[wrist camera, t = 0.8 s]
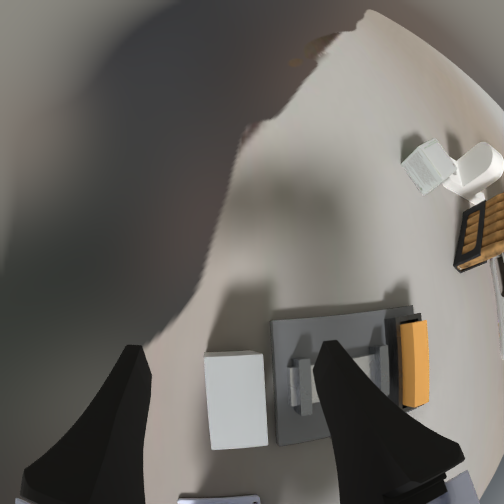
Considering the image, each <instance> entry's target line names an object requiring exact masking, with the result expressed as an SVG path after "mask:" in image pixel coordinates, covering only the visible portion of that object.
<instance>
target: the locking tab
mask: <svg viewBox="0 0 504 504" xmlns="http://www.w3.org/2000/svg"><path fill="white" fill-rule="evenodd" d="M400 331H401V346H402V370H403V405H405V406H409V407H414V408H415V407H418V406H420V405H422V404H425V403H427V402H429V348H428V332H427V320H424V321H417V322H411V323H406V324H401V325H400Z"/></svg>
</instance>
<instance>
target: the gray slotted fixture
mask: <svg viewBox="0 0 504 504" xmlns="http://www.w3.org/2000/svg"><path fill="white" fill-rule="evenodd" d="M402 321H406V322H407V323H411V322H417V321H422V319H421V313H417V314H412V315H406V316H401V317H395V318H389V319H384V325H385V338H386V345H375V346H370V347H368V348H369V354H367V355H362V356H357V357H352V359H353V360H354V361H355V362H356V363H357V365H358V366H359V367H360V368H361V369H362V370H363V372H364V373H365V374H366V375H367V376H368V377H369V378H370V379H371V380H372V382H373V383H374V384H375V385H376V386H377V387H378V388H379V389H380V390H381V391H382V392H383V393H384V394H385V395H386V396H387V397H388V398H389V399H390V400H391V401H393V402H394V403H395V404H396V405H397V406H398V407H400V408H401V409H402V410H403V411H404V412H407V411H410V410H412V409H415V408H417V407H415V408H414V407H409V406H405V405H403V370H402V346H401V331H400V322H402ZM291 359H292V366H291V367H287V386H288V404H289V405H290V406H294V411H295V412H296V413H298V414H299V415H300V416H306V415H311V414H313V412H312V403H316V402H320V401H319V398H318V394H317V391H316V386H315V381H314V375H313V367H314V365H315V363H314V364H310V358H305V357H298V358H291ZM422 405H424V404H422ZM422 405H420V406H422ZM418 407H419V406H418Z"/></svg>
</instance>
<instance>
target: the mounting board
mask: <svg viewBox="0 0 504 504" xmlns="http://www.w3.org/2000/svg"><path fill="white" fill-rule="evenodd" d="M412 314H414V313H413V305H411V306H405V307H398V308H391V309H384V310H376V311H369V312H361V313H352V314H343V315H334V316H323V317H312V318H301V319H287V320H272V321H270V330H271V347H272V363H273V381H274V400H275V419H276V440H277V444H278V445H279V446H285V445H291V444H297V443H302V442H307V441H312V440H317V439H321V438H326V437H330V436H331V435H330V432H329V429H328V425H327V422H326V419H325V416H324V413H323V410H322V407H321V404H320V402H316V403H312V412H313V414H311V415H306V416H300V415H299V414H298V413H296V412H295V411H294V406H290V405H289V404H288V386H287V367H291V366H292V359H291V358H298V357H305V358H310V364H314V363H315V362H316V359H317V357H318V354H319V351H320V348H321V346H322V343H323V341H329V340H338V341H339V343H340V344H341V345H342V346H343V348H344V349H345V350H346V351H347V352H348V354H349V355H350V356H351V357H357V356H362V355H367V354H369V348H368V347H370V346H375V345H386V338H385V325H384V319H389V318H395V317H401V316H406V315H412ZM406 323H407V322H406V321H402V322H400V325H401V324H406ZM415 409H416V408H415ZM412 410H414V409H412ZM412 410H410V411H412ZM407 412H409V411H407ZM407 412H406V413H407Z"/></svg>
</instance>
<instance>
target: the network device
mask: <svg viewBox="0 0 504 504" xmlns="http://www.w3.org/2000/svg"><path fill="white" fill-rule="evenodd" d="M498 257H503V261H504V252H503V253H501V254H500V255H498V256H495V257H493V258H490V267H491V273H492V278H493V284H494V291H495V298H496V306H497V315H498V326H499V343H500V354H501V357H502V359H503V360H504V297H502V296H501V293H500V289H499V282H498V276H497V271H496V266H495V258H498Z"/></svg>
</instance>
